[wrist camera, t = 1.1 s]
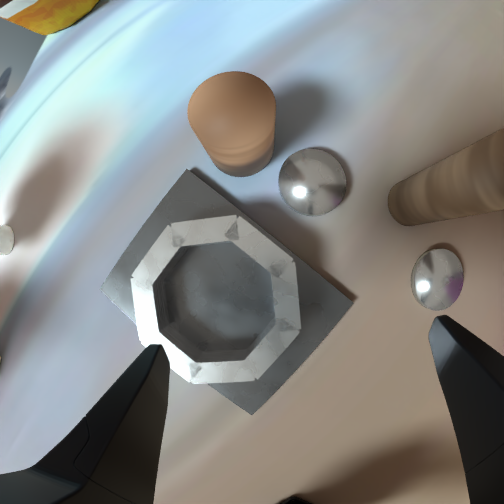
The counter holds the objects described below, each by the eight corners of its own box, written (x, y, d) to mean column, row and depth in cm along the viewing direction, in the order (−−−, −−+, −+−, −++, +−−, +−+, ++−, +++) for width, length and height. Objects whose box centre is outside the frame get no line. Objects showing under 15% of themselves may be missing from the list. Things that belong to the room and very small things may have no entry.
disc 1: (354, 181, 23) (358, 177, 21) (316, 230, 23) (319, 229, 22) (304, 141, 23) (306, 136, 22) (264, 188, 23) (264, 185, 22)
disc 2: (464, 273, 22) (471, 274, 21) (434, 319, 22) (441, 322, 21) (430, 236, 22) (437, 236, 21) (398, 284, 22) (404, 286, 21)
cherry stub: (286, 141, 23) (294, 100, 16) (246, 189, 23) (236, 164, 16) (237, 106, 23) (226, 59, 16) (196, 152, 23) (170, 116, 16)
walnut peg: (432, 202, 22) (544, 168, 9) (411, 235, 22) (527, 222, 9) (402, 172, 22) (503, 113, 9) (379, 205, 22) (482, 163, 9)
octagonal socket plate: (351, 301, 22) (363, 308, 19) (252, 411, 23) (250, 431, 20) (188, 170, 23) (177, 159, 20) (102, 288, 23) (83, 293, 20)
